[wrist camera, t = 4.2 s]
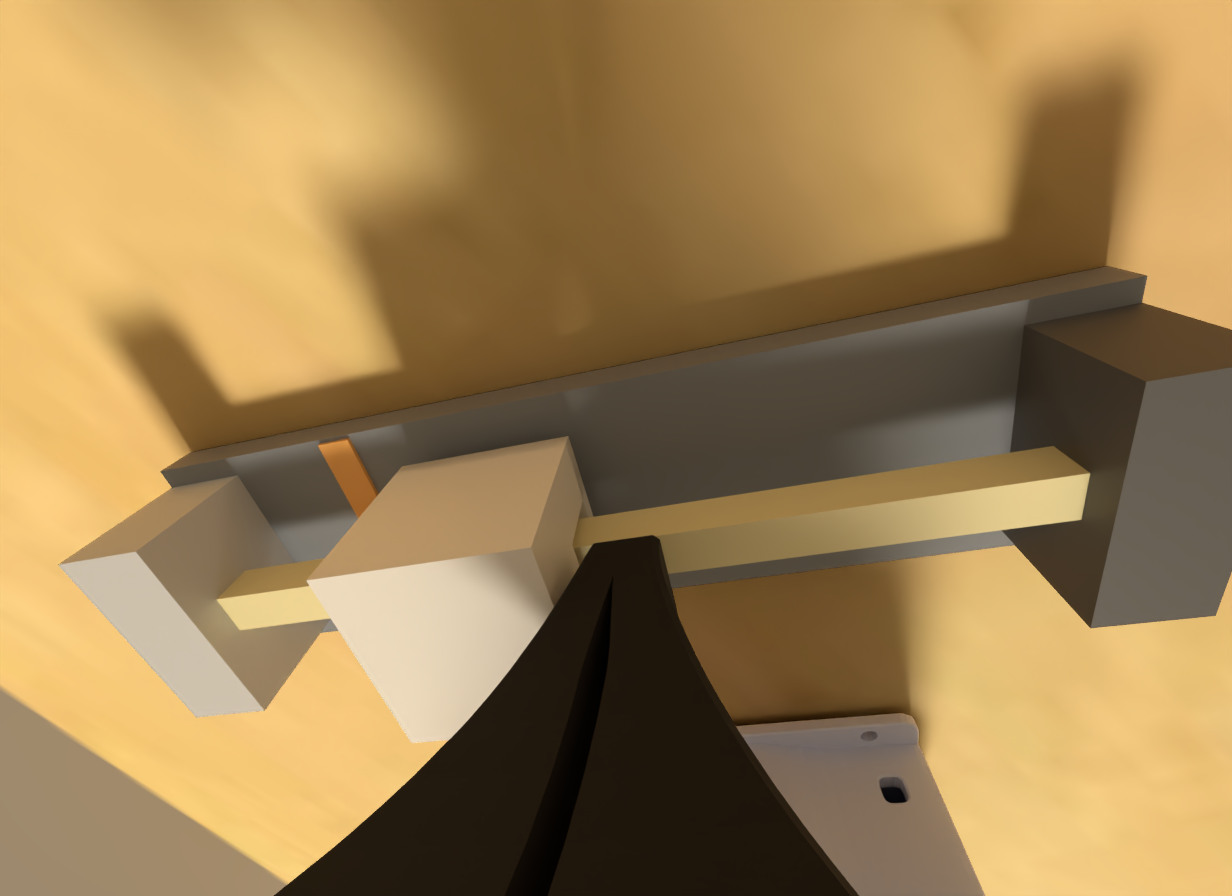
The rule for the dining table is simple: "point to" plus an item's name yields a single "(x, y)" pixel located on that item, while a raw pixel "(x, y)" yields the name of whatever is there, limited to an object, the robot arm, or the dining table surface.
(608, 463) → the cord board
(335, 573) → the beige sliding bead
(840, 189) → the dining table surface
